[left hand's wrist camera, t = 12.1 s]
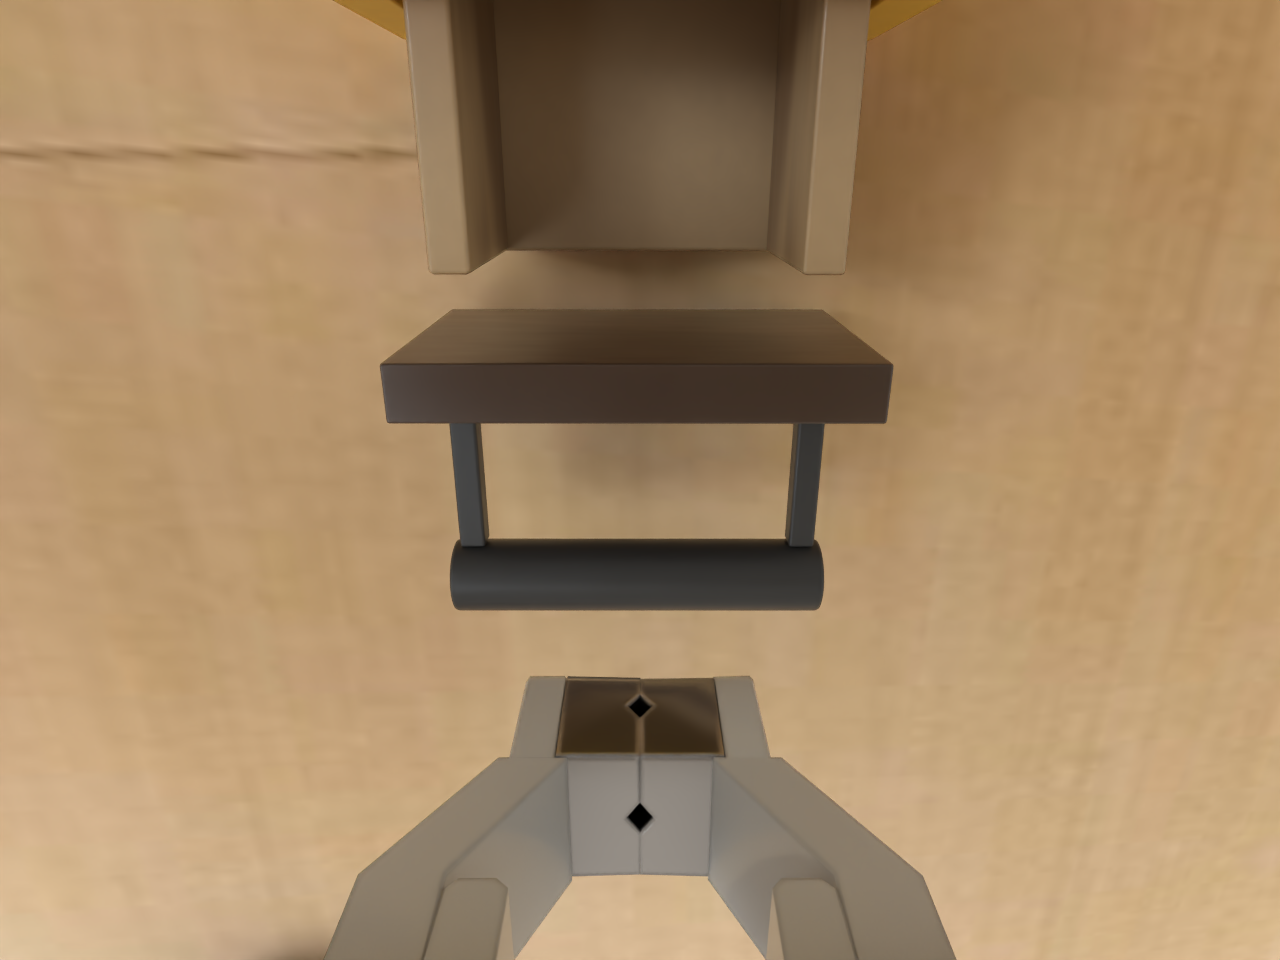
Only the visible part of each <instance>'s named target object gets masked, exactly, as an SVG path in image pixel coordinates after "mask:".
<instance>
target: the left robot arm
mask: <svg viewBox="0 0 1280 960" xmlns="http://www.w3.org/2000/svg"><path fill="white" fill-rule="evenodd" d="M632 874H646V875H681V876H708V880H709V882H710V883H711V884H712V886H713V887H714V889H715V890H716V891H717V893H718V894H719V895H720V897H721V898H722V900H723V901H724V902H725V904H726V905H727V907H728V908H729V909H730V911H731V912H732V914H733V915H734V916H735V918H736V919H737V920H738V922H739V923H740V925H741V926H742V927H743V929H744V930H745V932H746V933H747V934H748V936H749V937H750V938H751V940H752V941H753V943H754V944H755V945H756V947H757V948H758V950H759V951H760V952H761V954H762V955H763V956H764V958H765V959H766V960H956V957H955V955H954V952H953V950H952V947H951V945H950V942H949V940H948V937H947V935H946V933H945V930H944V928H943V925H942V923H941V920H940V918H939V915H938V913H937V910H936V908H935V905H934V903H933V900H932V898H931V895H930V893H929V890H928V888H927V885H926V883H925V880H924V878H923V876H922V875H921V874H920V873H919V872H918V871H916V870H915V869H914V868H913V867H912V866H911V865H909V864H908V863H907V862H906V861H905V860H903V859H902V858H901V857H900V856H899V855H897V854H896V853H895V852H894V851H893V850H891V849H890V848H889V847H888V846H887V845H885V844H884V843H883V842H882V841H881V840H879V839H878V838H877V837H876V836H875V835H873V834H872V833H871V832H870V831H869V830H868V829H866V828H865V827H864V826H863V825H862V824H860V823H859V822H858V821H857V820H856V819H854V818H853V817H852V816H851V815H850V814H848V813H847V812H846V811H845V810H844V809H842V808H841V807H840V806H839V805H838V804H836V803H835V802H834V801H833V800H832V799H830V798H829V797H828V796H827V795H826V794H825V793H823V792H822V791H821V790H820V789H819V788H817V787H816V786H815V785H814V784H813V783H811V782H810V781H809V780H808V779H807V778H805V777H804V776H803V775H802V774H801V773H799V772H798V771H797V770H796V769H795V768H793V767H792V766H791V765H790V764H789V763H787V762H786V761H785V760H784V759H783V758H771V757H770V753H769V748H768V744H767V739H766V735H765V731H764V726H763V722H762V717H761V713H760V708H759V704H758V700H757V695H756V691H755V686H754V682H753V679H752V678H751V677H750V676H728V677H713V678H667V679H640V678H618V677H571V676H568V677H567V678H566V677H565V676H530V678H529V679H528V681H527V682H526V686H525V690H524V694H523V699H522V703H521V708H520V712H519V717H518V721H517V726H516V730H515V735H514V739H513V743H512V748H511V752H510V757H509V758H497V759H496V760H495V761H494V762H493V763H491V764H490V765H489V766H488V767H487V768H485V769H484V770H483V771H482V772H481V773H479V774H478V775H477V776H476V777H475V778H473V779H472V780H471V781H470V782H469V783H467V784H466V785H465V786H464V787H463V788H461V789H460V790H459V791H458V792H457V793H455V794H454V795H453V796H452V797H451V798H449V799H448V800H447V801H446V802H445V803H443V804H442V805H441V806H440V807H439V808H437V809H436V810H435V811H434V812H433V813H431V814H430V815H429V816H428V817H427V818H425V819H424V820H423V821H422V822H421V823H419V824H418V825H417V826H416V827H415V828H413V829H412V830H411V831H410V832H409V833H407V834H406V835H405V836H404V837H403V838H401V839H400V840H399V841H398V842H397V843H395V844H394V845H393V846H392V847H391V848H389V849H388V850H387V851H386V852H385V853H383V854H382V855H381V856H380V857H379V858H377V859H376V860H375V861H374V862H373V863H371V864H370V865H369V866H368V867H367V868H365V869H364V870H363V871H362V872H361V873H359V874H358V876H357V879H356V881H355V883H354V886H353V888H352V891H351V893H350V896H349V898H348V901H347V903H346V906H345V908H344V911H343V913H342V915H341V918H340V920H339V923H338V925H337V928H336V930H335V933H334V935H333V938H332V940H331V942H330V945H329V947H328V950H327V952H326V955H325V957H324V960H515V958H516V957H517V956H518V954H519V953H520V951H521V950H522V949H523V947H524V946H525V945H526V943H527V942H528V940H529V939H530V938H531V936H532V935H533V934H534V932H535V931H536V929H537V928H538V927H539V925H540V924H541V922H542V921H543V920H544V918H545V917H546V916H547V914H548V913H549V911H550V910H551V909H552V907H553V906H554V905H555V903H556V902H557V900H558V899H559V898H560V896H561V895H562V894H563V892H564V891H565V889H566V888H567V887H568V885H569V884H570V883H571V881H572V876H598V875H632Z"/></svg>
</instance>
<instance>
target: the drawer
mask: <svg viewBox="0 0 1280 960" xmlns="http://www.w3.org/2000/svg"><path fill="white" fill-rule="evenodd" d="M870 6H871V0H403V10H404V20H405V31H406V41H407V51H408V62H409V72H410V83H411V93H412V103H413V114H414V124H415V135H416V145H417V155H418V166H419V176H420V187H421V197H422V207H423V218H424V228H425V239H426V249H427V259H428V269H429V271H430V273H432V274H468V273H470V272H472V271H474V270H475V269H477V268H478V267H480V266H482V265H483V264H485V263H487V262H488V261H490V260H491V259H493V258H495V257H496V256H498V255H499V254H501V253H503V252H504V251H506V250H599V251H769V252H771V253H772V254H774V255H775V256H777V257H778V258H780V259H782V260H783V261H785V262H786V263H788V264H789V265H791V266H792V267H794V268H796V269H797V270H799V271H800V272H802V273H803V274H806V275H842V274H844V272H845V268H846V258H847V247H848V237H849V226H850V216H851V205H852V195H853V184H854V174H855V163H856V153H857V142H858V132H859V121H860V111H861V100H862V90H863V80H864V69H865V59H866V48H867V38H868V27H869V17H870ZM380 371H381V379H382V387H383V395H384V403H385V411H386V419H387V422H388V423H449V424H450V435H451V445H452V456H453V467H454V478H455V488H456V499H457V510H458V521H459V531H460V540H458V541H457V542H456V544H455V546H454V549H453V553H452V558H451V566H450V590H451V597H452V601H453V604H454V607H455V608H456V609H458V610H817V609H818V608H819V607H820V605H821V601H822V597H823V591H824V566H823V558H822V553H821V549H820V546H819V544H818V542H817V541H816V540H814V533H815V522H816V511H817V500H818V490H819V479H820V468H821V457H822V446H823V436H824V425H825V424H884V423H886V421H887V415H888V407H889V399H890V390H891V382H892V374H893V364H892V363H890V362H889V361H888V360H887V359H885V358H884V357H883V356H881V355H880V354H879V353H878V352H876V351H875V350H874V349H872V348H871V347H870V346H868V345H867V344H866V343H865V342H863V341H862V340H861V339H859V338H858V337H857V336H856V335H854V334H853V333H852V332H850V331H849V330H848V329H846V328H845V327H844V326H843V325H841V324H840V323H839V322H837V321H836V320H835V319H834V318H832V317H831V316H830V315H828V314H827V313H826V312H825V311H823V310H494V309H453V310H451V311H450V312H448V313H447V314H446V315H444V316H443V317H442V318H440V319H439V320H438V321H437V322H435V323H434V324H433V325H431V326H430V327H429V328H427V329H426V330H425V331H423V332H422V333H421V334H419V335H418V336H417V337H415V338H414V339H413V340H411V341H410V342H409V343H408V344H406V345H405V346H404V347H402V348H401V349H400V350H398V351H397V352H396V353H394V354H393V355H392V356H390V357H389V358H388V359H386V360H385V361H384V362H382V363H381V364H380ZM481 423H711V424H794V426H793V439H792V452H791V465H790V478H789V491H788V504H787V517H786V530H785V537H786V539H488V537H489V526H488V513H487V500H486V488H485V475H484V462H483V449H482V436H481Z"/></svg>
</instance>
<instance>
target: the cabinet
mask: <svg viewBox="0 0 1280 960" xmlns="http://www.w3.org/2000/svg"><path fill="white" fill-rule="evenodd" d="M333 1H335V2H337V3H339V4H341V5H342V6H344V7H346V8H348V9H350V10H351V11H353V12H355V13H357V14H359V15H361V16H362V17H364V18H366V19H368V20H370V21H372V22H373V23H375V24H377V25H379V26H381V27H382V28H384V29H386V30H388V31H390V32H392V33H393V34H395V35H397V36H399V37H401V38H403V39H406V31H405V20H404V10H403V0H333ZM940 1H942V0H871V6H870V17H869V27H868V38H867V41H868V40H870V39H873V38H875V37H877V36H879V35H881V34H882V33H884V32H886V31H888V30H890V29H891V28H893V27H895V26H897V25H899V24H901V23H902V22H904V21H906V20H908V19H910V18H911V17H913V16H915V15H917V14H919V13H920V12H922V11H924V10H926V9H928V8H929V7H931V6H933V5H935V4H937V3H939V2H940Z"/></svg>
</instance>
